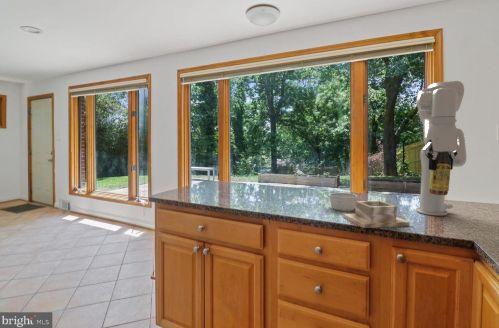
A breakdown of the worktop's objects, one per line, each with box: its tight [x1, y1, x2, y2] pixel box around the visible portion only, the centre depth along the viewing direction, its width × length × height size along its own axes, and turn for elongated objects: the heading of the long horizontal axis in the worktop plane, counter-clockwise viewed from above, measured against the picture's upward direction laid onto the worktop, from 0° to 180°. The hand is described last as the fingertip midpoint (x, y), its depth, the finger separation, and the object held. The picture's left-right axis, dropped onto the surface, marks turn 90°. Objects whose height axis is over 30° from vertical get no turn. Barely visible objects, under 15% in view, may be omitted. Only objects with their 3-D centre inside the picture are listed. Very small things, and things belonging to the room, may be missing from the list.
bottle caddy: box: [343, 200, 411, 229], centre depth 120 cm, size 20×16×8 cm
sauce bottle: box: [429, 151, 451, 196], centre depth 109 cm, size 7×6×20 cm
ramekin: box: [329, 192, 358, 212], centre depth 143 cm, size 13×13×7 cm
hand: (440, 169), depth 109 cm, fingers closed on sauce bottle, 6 cm apart
